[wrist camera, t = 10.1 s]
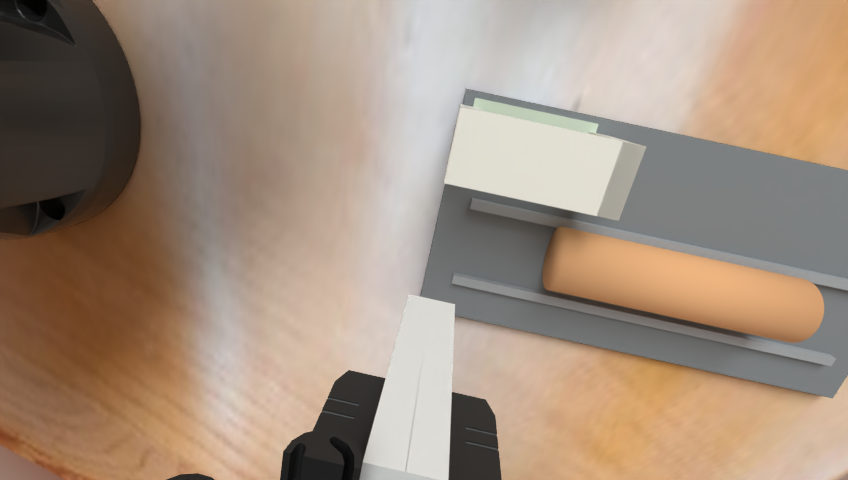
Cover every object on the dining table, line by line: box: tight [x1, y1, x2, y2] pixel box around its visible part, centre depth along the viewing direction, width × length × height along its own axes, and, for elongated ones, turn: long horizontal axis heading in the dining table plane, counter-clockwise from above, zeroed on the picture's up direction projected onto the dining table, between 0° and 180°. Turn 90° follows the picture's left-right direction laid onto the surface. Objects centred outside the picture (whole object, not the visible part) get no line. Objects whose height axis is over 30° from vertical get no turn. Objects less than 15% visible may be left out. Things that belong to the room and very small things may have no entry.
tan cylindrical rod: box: [543, 226, 824, 343], centre depth 21 cm, size 12×3×3 cm, turn 79°
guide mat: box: [420, 89, 848, 398], centre depth 22 cm, size 24×12×1 cm, turn 79°
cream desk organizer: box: [444, 104, 646, 221], centre depth 19 cm, size 3×7×4 cm, turn 79°
